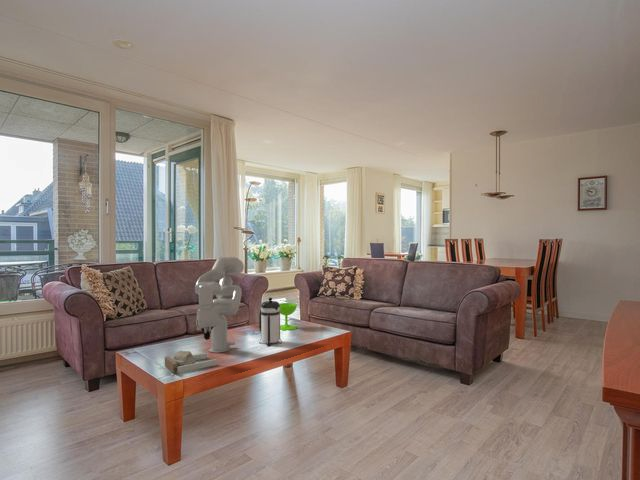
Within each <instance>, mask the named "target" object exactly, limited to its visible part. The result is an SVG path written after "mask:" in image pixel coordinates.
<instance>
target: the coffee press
mask: <svg viewBox="0 0 640 480" xmlns="http://www.w3.org/2000/svg"><path fill="white" fill-rule="evenodd" d="M258 314H259V315H258V318H259V319H258V325H259V331H260V340H259V344H262V343H265V344H267V347H270V346H271V344H274V343H279V344H282V343H283V341H282V340H281V331H280V325H281V314H280V302H279V301H276V300H273V298H272V297H269V298H268V300H266V301H263V302H261V305H260V310H259V313H258Z"/></svg>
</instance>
